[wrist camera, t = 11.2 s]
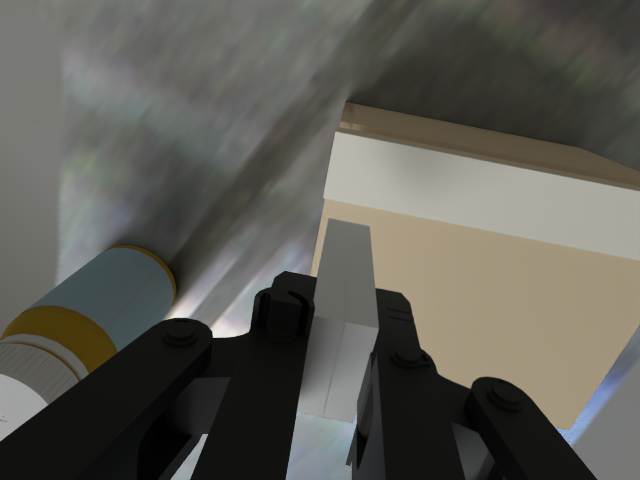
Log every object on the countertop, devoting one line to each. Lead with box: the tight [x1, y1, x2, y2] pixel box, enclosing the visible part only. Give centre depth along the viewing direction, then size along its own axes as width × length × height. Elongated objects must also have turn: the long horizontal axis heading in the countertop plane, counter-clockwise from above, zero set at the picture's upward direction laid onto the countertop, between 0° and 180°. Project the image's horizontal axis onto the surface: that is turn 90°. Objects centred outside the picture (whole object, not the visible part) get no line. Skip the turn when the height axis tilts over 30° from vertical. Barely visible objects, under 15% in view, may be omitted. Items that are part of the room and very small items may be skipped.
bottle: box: [0, 245, 176, 441], centre depth 29 cm, size 7×7×15 cm
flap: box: [310, 127, 640, 430], centre depth 22 cm, size 14×16×1 cm
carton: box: [339, 102, 640, 186], centre depth 27 cm, size 14×16×10 cm
